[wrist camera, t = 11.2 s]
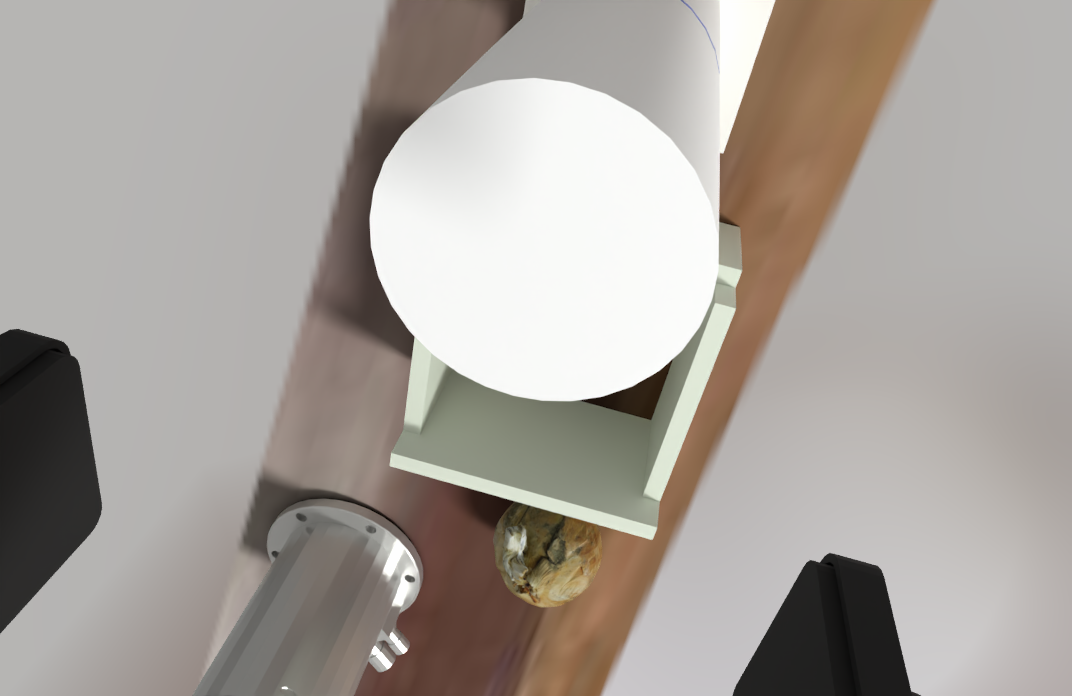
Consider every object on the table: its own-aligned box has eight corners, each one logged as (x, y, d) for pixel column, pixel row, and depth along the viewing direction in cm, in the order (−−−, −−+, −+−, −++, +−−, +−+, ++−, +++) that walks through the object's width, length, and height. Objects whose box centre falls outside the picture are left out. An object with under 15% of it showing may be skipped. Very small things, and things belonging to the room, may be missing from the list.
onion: (481, 520, 58) (450, 608, 52) (533, 453, 54) (506, 541, 47) (569, 568, 59) (550, 660, 53) (627, 506, 55) (614, 599, 48)
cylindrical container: (740, -52, 34) (770, 126, 14) (695, 109, 38) (666, 434, 18) (580, -86, 35) (377, 39, 14) (552, 77, 39) (363, 358, 18)
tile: (723, 146, 40) (723, 153, 39) (513, 93, 41) (509, 99, 40) (805, -98, 34) (807, -96, 33) (556, -156, 34) (552, -156, 34)
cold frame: (662, 436, 51) (652, 539, 43) (437, 374, 52) (389, 465, 44) (740, 227, 42) (744, 312, 35) (469, 157, 43) (417, 225, 36)
